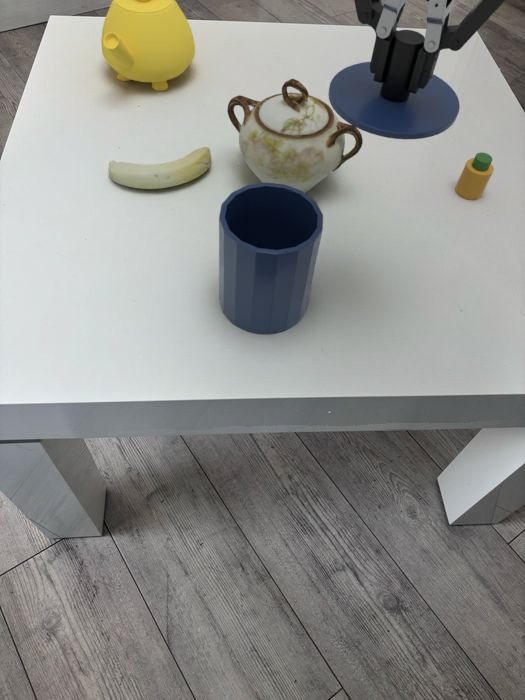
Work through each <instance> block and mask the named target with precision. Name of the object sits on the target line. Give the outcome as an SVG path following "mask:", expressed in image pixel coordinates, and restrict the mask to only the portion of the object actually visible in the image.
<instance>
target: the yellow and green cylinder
mask: <svg viewBox="0 0 525 700" xmlns="http://www.w3.org/2000/svg"><path fill="white" fill-rule="evenodd" d="M492 162H493V157H492V156H491V155H490V154H488V152H487V153H486V152H478V153H476V154H475V156H474V157H471V158H469V159H467V160H466V162H465V165H464V167H463V169H462V171H461V173H460V176H459V179H458V181H457V183H456V186H455V193H457V195H458V196H459V197H461V198H463V199H466V200H470V201H475V200H479V199H480V198H481V197H482V196H483V193H484V191H485V190H486V187H487V185H488V184H489V181H490V179H491V177H492V175H493V173H494V170H495V168H494V165H493V164H492Z"/></svg>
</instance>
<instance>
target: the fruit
mask: <svg viewBox="0 0 525 700" xmlns="http://www.w3.org/2000/svg"><path fill="white" fill-rule="evenodd" d="M211 165H212V153H211V149H210V147H209V146H204V147H200V148H198V149H195V150H193V151H191V152H190V153H188V154H186V155H185V156H183V157H181V158H178V159H175V160H173V161H168V162H163V163H155V164H138V163H132V162H126V161H115V160H110V161H109V163H108V173H109V176H110V179H111V180H112V182H113V181H114V182H115V183H117V184H119V185H121V186H125V187H130V188H135V189H141V190H142V189H143V190H155V189H156V190H158V189H166V188H173V187H176V186H180V185H183V184H186V183H189V182H191V181H193V180H195V179H197V178H199V177H201V176H202V175H203V174H205V173H206V172H207V170H209V169H210V168H211Z"/></svg>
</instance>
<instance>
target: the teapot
mask: <svg viewBox="0 0 525 700" xmlns="http://www.w3.org/2000/svg"><path fill="white" fill-rule="evenodd" d="M195 45H196V43H195V39H194V35H193V31H192V29H191V26H190V23H189V21H188V19H187V18H186V15H185V14H184V12H183V10H182V9H181V7H180V6H179V4H178V3H177V1H176V0H112V2H111V3H110V5H109V8H108V11H107V12H106V16H105V18H104V21H103V25H102V31H101V45H100V46H101V52H102V56H103V59H104V60H105V61H106V63H107V64H108V65H109V66H110V67H111V69H113V70H114V71H115V72H117V75H116V78H117V79H118V80H119V81H122V82H128V81H131V80H132V81H135V82H141V83H151V87H152V89H153V90H155V91H158V92H159V91H161V92H162V91H166V90H167V89H168V88H169V84H168V81H170V80H173V79H175V78H177V77H179V76H180V75H182V74H183V73H184V72H185V71H186V70H187V69H188V68H189V67H190V65H191V63H192V62H193V60H194V58H195V54H196V46H195Z"/></svg>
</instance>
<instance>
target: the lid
mask: <svg viewBox="0 0 525 700" xmlns="http://www.w3.org/2000/svg"><path fill="white" fill-rule="evenodd" d="M424 41H425V35H423V34H422V33H420V32H418V31H415V30H412V29H400V30H397V32H396V33H395V34H394V37H393V41H392V46H391V50H390V54H389V58H388V62H387V66H386V70H385V74H384V78H383V82H382V83H379V82H376V81H374V75H375V74H374V73H371V72H370V63H371V61H365V62H364V61H363V62H359V63H355V64H351V65H349V66H346V67H344V68H342V69H341V70H339V71H338V72H337V73H336V74H335V75H334V76H333V77H332V79H331V81H330V83H329V87H328V101H329V103H330V105H331V107H332V109H333V111H334V112H335V113H336V115H338V116H339V118H341V119H343V120H344V121H345V122H347V124H349V125H353V126H355V127H356V128H357V129H358V130H361V131H363V132H366V133H369V134H372V135H374V136H379V137H383V138H387V139H394V140H420V139H426V138H432V137H435V136H437V135H440V134H442V133H445V131H448V129H449V128H451V127H452V126H453V124H454V123H455V122H456V120H457V117H458V115H459V113H460V100H459V97H458V95H457V93H456V92H455V90H454V89H453V87H452V86H450V84H448V82H446V81H445V80H443V79H442V78H440V77H439V76H437V75H436V74H434V73H433V75H432V78H431V79H430V81H429V82H428V84H427V85H426V86H425V87H424V89H421V88H419V90H418V91H417V93H416V94H414V93H410V92H408V88H409V85H410V81H411V78H412V74H413V71H414V67H415V64H416V60H417V56H418V53H419V50H420V49H421V47H422V46H423V45H424Z"/></svg>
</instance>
